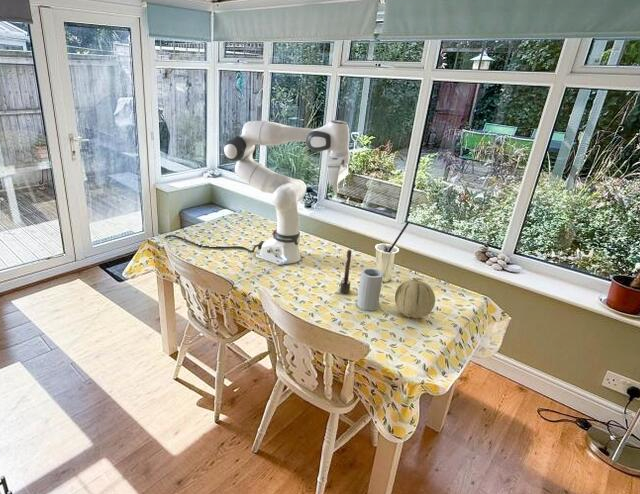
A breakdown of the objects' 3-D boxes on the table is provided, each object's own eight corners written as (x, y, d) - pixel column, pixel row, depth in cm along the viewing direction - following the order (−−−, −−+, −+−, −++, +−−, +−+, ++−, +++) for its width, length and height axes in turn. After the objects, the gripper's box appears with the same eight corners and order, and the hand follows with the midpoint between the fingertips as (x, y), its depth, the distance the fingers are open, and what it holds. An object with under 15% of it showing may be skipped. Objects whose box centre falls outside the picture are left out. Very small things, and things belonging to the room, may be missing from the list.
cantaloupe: (410, 329, 152) (417, 294, 146) (384, 309, 165) (389, 276, 159) (440, 320, 158) (448, 286, 152) (412, 301, 170) (418, 269, 164)
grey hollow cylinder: (355, 307, 166) (359, 274, 160) (359, 298, 172) (363, 266, 167) (375, 312, 162) (380, 279, 156) (379, 302, 169) (384, 270, 163)
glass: (398, 286, 182) (409, 223, 170) (371, 283, 184) (381, 220, 172) (395, 274, 192) (405, 214, 180) (370, 272, 194) (378, 212, 182)
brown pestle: (338, 293, 176) (343, 250, 168) (341, 288, 179) (345, 247, 171) (348, 295, 174) (353, 252, 166) (350, 291, 178) (355, 249, 170)
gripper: (338, 154, 188) (338, 184, 193) (324, 163, 171) (325, 195, 176) (351, 154, 185) (351, 184, 190) (339, 163, 168) (339, 196, 173)
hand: (338, 189), depth 183 cm, fingers open, 8 cm apart
